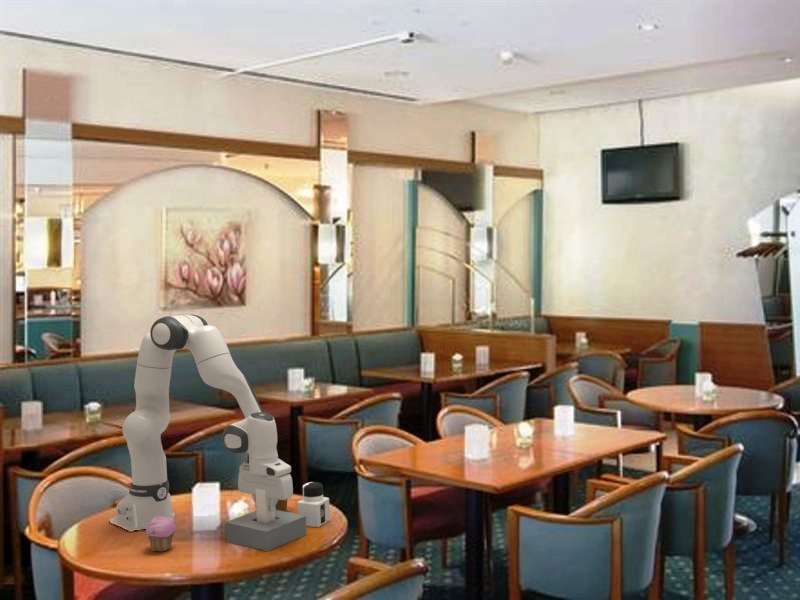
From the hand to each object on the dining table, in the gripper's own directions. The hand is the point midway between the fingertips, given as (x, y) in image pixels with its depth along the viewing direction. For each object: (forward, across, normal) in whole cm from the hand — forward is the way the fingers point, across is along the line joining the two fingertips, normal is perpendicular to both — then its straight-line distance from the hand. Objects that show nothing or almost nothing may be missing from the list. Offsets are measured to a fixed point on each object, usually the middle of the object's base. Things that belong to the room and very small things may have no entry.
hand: (265, 509), depth 280 cm
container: (+9, +3, +19) cm, 21 cm away
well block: (+9, 0, 0) cm, 9 cm away
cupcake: (+9, -20, -24) cm, 33 cm away
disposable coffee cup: (+9, -16, +22) cm, 29 cm away
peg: (+7, 0, 0) cm, 7 cm away
